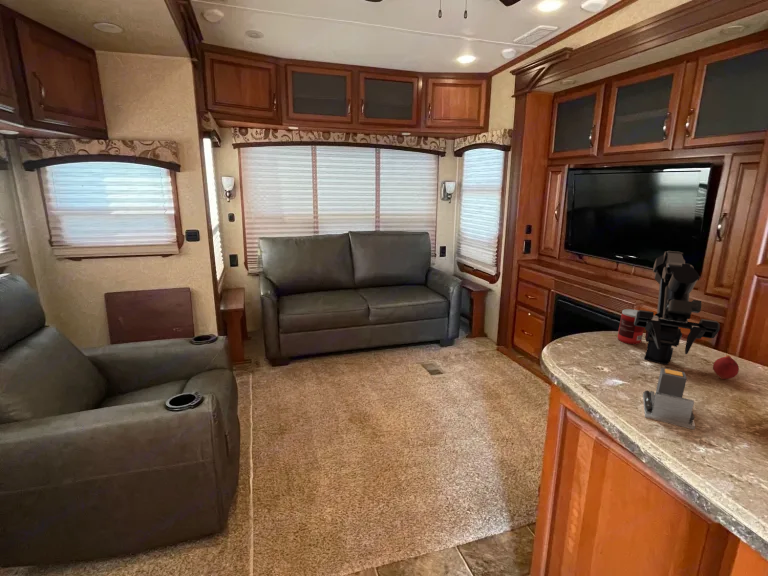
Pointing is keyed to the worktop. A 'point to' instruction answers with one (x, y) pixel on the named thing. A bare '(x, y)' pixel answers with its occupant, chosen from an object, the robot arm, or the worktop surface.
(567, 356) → the worktop surface
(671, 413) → the grey handled base plate
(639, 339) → the canned food
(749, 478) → the worktop surface
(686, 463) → the worktop surface
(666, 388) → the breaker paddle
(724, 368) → the onion
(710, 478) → the worktop surface
